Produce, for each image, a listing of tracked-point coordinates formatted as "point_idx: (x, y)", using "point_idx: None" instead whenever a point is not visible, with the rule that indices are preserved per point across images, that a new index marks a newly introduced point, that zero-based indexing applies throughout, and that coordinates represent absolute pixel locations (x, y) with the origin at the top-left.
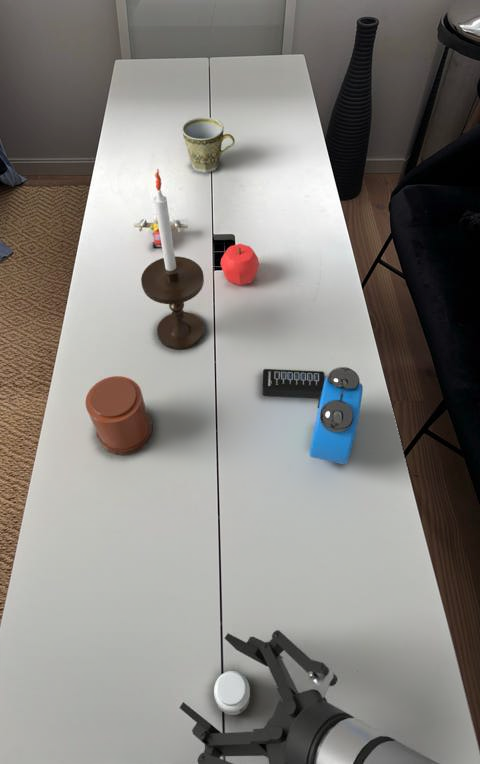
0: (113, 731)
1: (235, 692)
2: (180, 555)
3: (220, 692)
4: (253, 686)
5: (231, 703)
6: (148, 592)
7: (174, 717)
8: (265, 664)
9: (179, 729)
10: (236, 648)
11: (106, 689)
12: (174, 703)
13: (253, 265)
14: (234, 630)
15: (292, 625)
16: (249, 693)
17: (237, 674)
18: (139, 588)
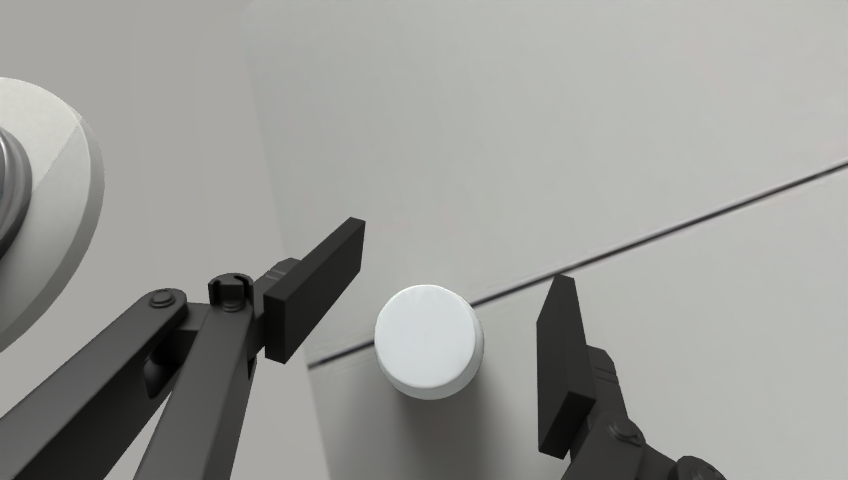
0: (303, 136)
1: (416, 354)
2: (676, 125)
3: (400, 302)
4: (468, 393)
5: (379, 351)
6: (566, 95)
7: None
8: (544, 442)
9: None
10: (542, 318)
11: (366, 97)
12: (379, 225)
13: None
14: None
15: None
16: (438, 398)
17: (472, 343)
18: (565, 77)
